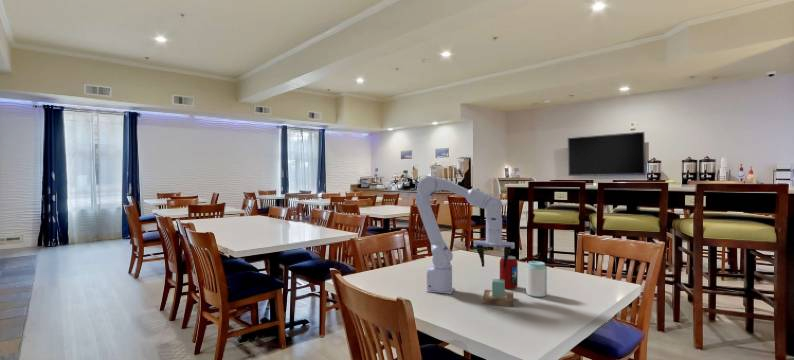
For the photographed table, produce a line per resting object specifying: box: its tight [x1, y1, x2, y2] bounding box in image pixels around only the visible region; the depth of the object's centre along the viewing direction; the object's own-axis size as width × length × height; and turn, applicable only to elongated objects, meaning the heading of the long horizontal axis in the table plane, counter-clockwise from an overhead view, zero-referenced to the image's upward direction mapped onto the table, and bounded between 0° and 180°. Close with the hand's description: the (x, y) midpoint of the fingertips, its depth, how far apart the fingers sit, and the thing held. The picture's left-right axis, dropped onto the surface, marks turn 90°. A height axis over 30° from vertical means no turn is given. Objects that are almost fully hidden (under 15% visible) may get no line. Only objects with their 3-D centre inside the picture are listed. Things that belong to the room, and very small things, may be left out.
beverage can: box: [499, 255, 519, 290], centre depth 151 cm, size 7×7×12 cm
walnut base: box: [482, 289, 514, 307], centre depth 135 cm, size 10×10×2 cm
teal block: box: [491, 278, 506, 297], centre depth 135 cm, size 4×4×5 cm
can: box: [525, 260, 548, 298], centre depth 142 cm, size 7×7×12 cm
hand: (493, 266), depth 141 cm, fingers open, 7 cm apart
